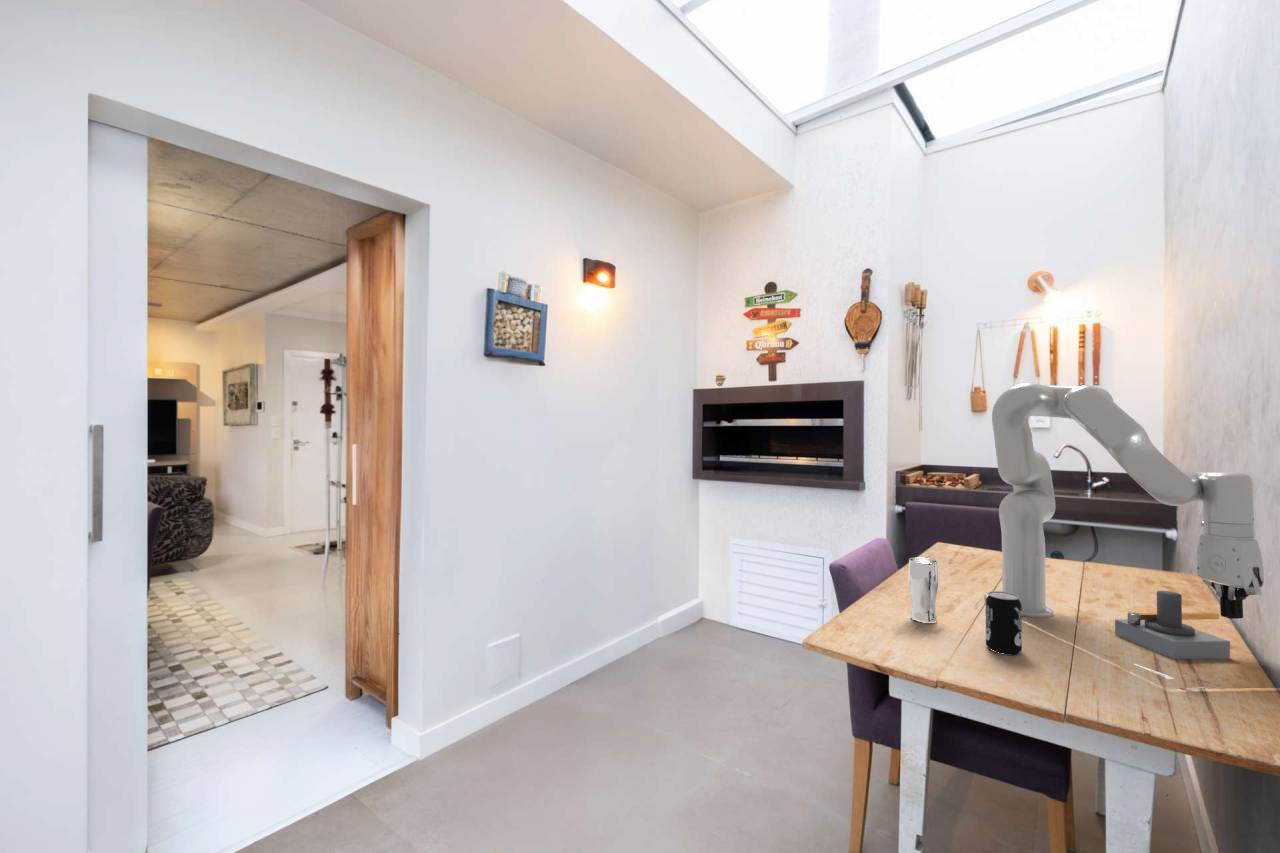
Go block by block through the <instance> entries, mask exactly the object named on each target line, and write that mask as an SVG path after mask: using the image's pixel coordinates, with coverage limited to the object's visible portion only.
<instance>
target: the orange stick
mask: <svg viewBox="0 0 1280 853" xmlns="http://www.w3.org/2000/svg"><path fill="white" fill-rule="evenodd" d="M1126 613H1127V614H1126V615H1127V619H1128V623H1129V624H1132V625H1140V620H1157V612H1126ZM1219 619H1220V614H1219V613H1218V612H1214V611H1207V612H1205V611H1204V612H1201V611H1200V612H1199V611H1197V612H1196V611H1195V612H1190V611H1189V612H1186V611H1185V612H1182V621H1184V620H1191V621H1192V620H1219Z"/></svg>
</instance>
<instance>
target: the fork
mask: <svg viewBox="0 0 1280 853" xmlns="http://www.w3.org/2000/svg"><path fill="white" fill-rule="evenodd" d="M1133 665H1134V666H1136V667H1139V668H1141V669H1143V670H1146V671H1149V672H1151V673H1153V674H1156V675H1158V676H1161V677H1162V678H1164V679H1166V680H1174V679H1175V678H1174V677H1172V676H1170V675H1167V674H1166V673H1162V672H1159V671H1156V670H1153V669H1152V668H1148V667H1146V666H1142V665H1140V664H1136V663H1133ZM1209 688H1210V686H1205V687H1204V686H1202V687H1201V686H1200V687H1199V686H1197V687H1190V688H1189V687H1183V688H1180V687H1179V689H1180V690H1182V691H1190V690H1202V689H1209Z"/></svg>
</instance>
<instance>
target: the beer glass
mask: <svg viewBox="0 0 1280 853" xmlns="http://www.w3.org/2000/svg"><path fill="white" fill-rule="evenodd" d="M907 572H908V574H907V579H908V587H909V593H910V597H911V612H910V616H911V617H912V618H913V619H916V620H920V621H926V622H935V621H937V622H938V617H937V613H936V602H937V598H938V591H939V587H940V586H939V585H940V572H939V561H938V560H936V559H933V558H927V557H910V558H908V570H907Z"/></svg>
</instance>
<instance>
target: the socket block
mask: <svg viewBox="0 0 1280 853" xmlns="http://www.w3.org/2000/svg"><path fill="white" fill-rule="evenodd" d="M1114 620H1115V621H1114V633H1115V636H1117V637H1120V638H1121V639H1124V640H1126V641H1129V642H1131V643H1134V644H1136V645H1138V646H1141V647H1143V648H1146V649H1148V650H1149V651H1152V652H1156V653H1158V654H1160V655H1162V656H1165V657H1167V658H1170V659H1173V660H1200V659H1201V660H1202V659H1203V660H1206V659H1207V660H1209V659H1210V660H1212V659H1213V660H1214V659H1215V660H1218V659H1221V660H1222V659H1225V660H1227V659H1230V658H1231V650H1230V649H1231V648H1230V647H1231V641H1230V640H1228V639H1224V638H1221V637H1218V636H1217V635H1213V634H1210V633H1207V632H1204V631H1201V630H1199V629H1196V628H1194V629H1195V635H1194V636H1175V635H1169V634H1164V633H1160V632H1156V631H1153V630H1150V629H1148V628H1146V627H1145V620H1140V625H1132V624H1129V623H1128V618H1126V619H1125V618H1123V619H1118V618H1117V619H1114Z"/></svg>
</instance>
